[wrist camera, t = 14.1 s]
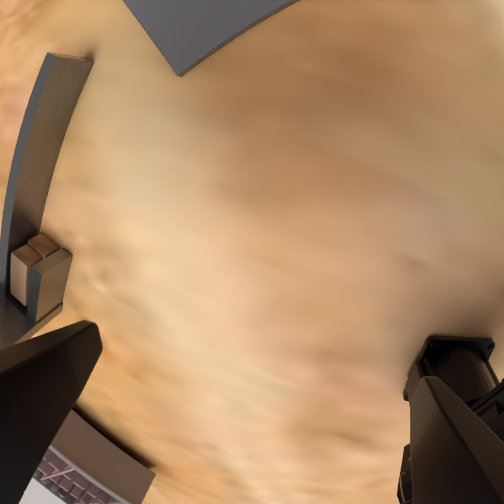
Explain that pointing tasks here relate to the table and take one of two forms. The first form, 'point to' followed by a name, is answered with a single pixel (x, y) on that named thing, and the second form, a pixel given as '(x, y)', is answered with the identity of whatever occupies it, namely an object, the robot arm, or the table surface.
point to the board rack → (37, 196)
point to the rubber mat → (198, 25)
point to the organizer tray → (91, 468)
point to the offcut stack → (28, 264)
